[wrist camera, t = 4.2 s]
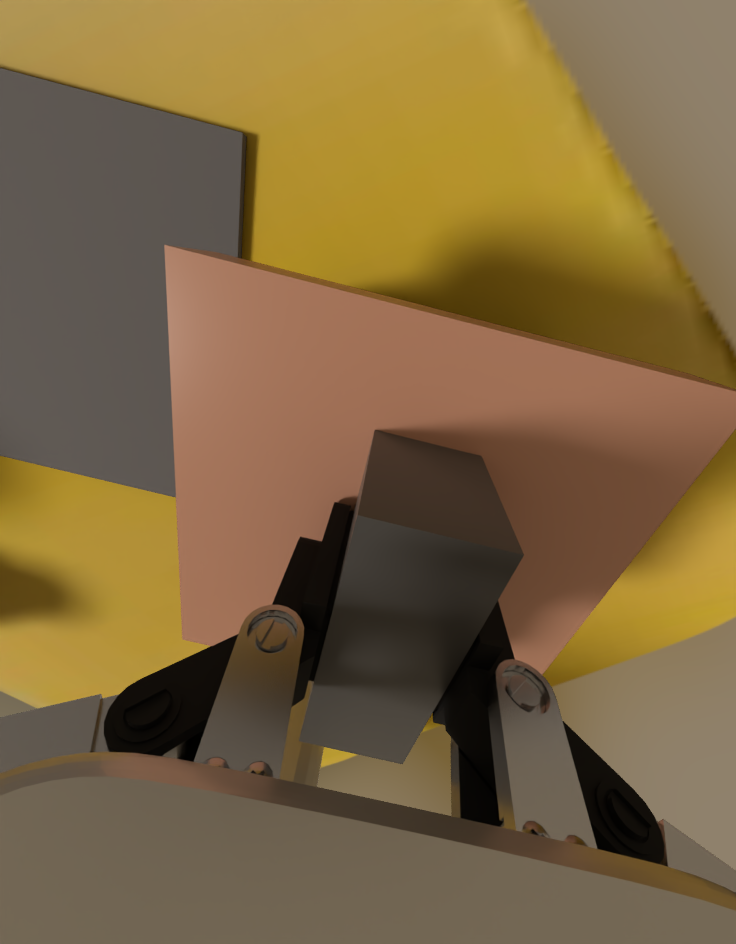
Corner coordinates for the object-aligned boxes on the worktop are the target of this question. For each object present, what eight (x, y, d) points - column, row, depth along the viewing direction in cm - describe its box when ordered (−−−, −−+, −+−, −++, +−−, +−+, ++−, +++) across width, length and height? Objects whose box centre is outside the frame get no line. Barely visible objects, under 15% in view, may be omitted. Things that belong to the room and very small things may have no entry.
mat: (230, 506, 23) (227, 509, 22) (-56, 437, 22) (-63, 440, 22) (246, 136, 14) (242, 132, 14) (-221, 11, 14) (-238, 4, 13)
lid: (497, 659, 17) (543, 844, 12) (211, 593, 17) (113, 750, 11) (686, 373, 11) (1011, 482, 5) (215, 251, 10) (-21, 219, 5)
